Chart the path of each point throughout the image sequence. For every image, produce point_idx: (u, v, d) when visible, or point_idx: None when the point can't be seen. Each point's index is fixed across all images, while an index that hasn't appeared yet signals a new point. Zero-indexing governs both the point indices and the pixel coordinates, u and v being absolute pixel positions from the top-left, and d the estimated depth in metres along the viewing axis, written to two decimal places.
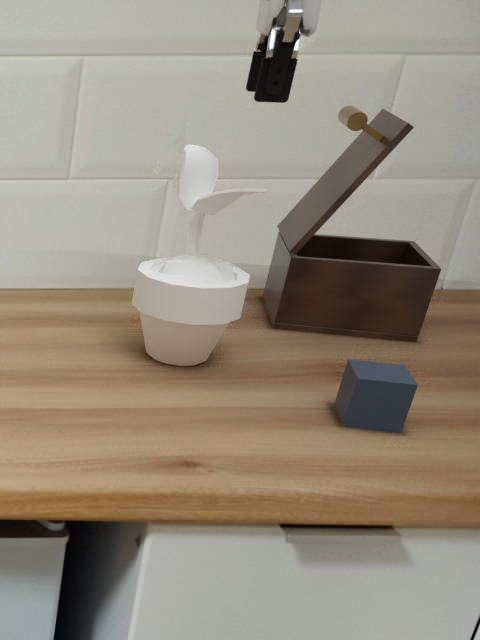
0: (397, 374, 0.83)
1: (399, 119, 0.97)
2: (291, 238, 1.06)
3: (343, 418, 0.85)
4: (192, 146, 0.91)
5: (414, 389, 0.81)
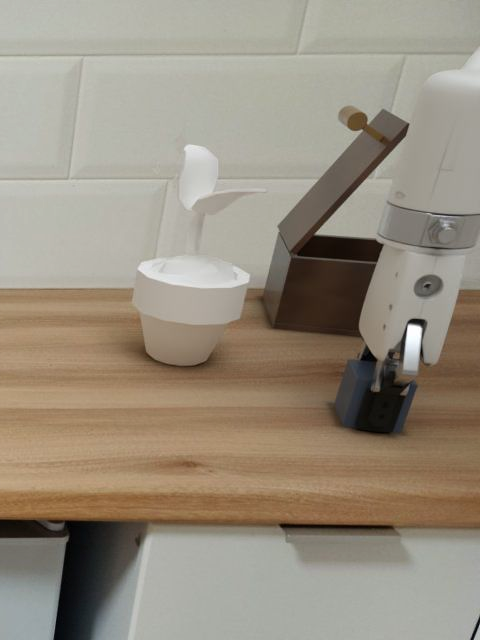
0: None
1: (399, 119, 0.97)
2: (291, 238, 1.06)
3: (343, 418, 0.85)
4: (192, 146, 0.91)
5: (414, 389, 0.81)
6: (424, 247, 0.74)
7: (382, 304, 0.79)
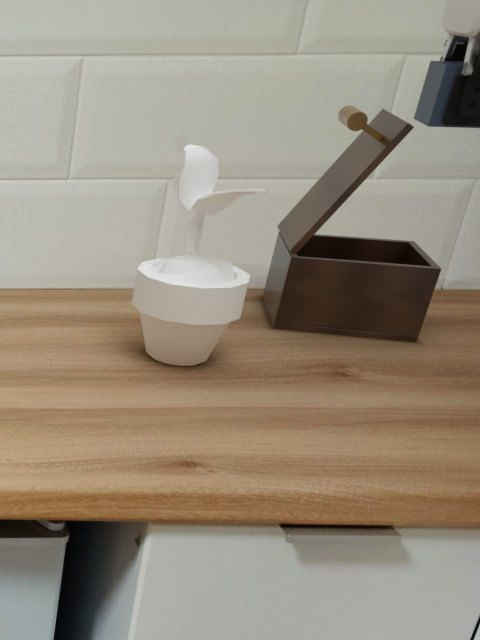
0: None
1: (399, 119, 0.97)
2: (291, 238, 1.06)
3: (428, 118, 0.80)
4: (192, 146, 0.91)
5: None
6: None
7: None
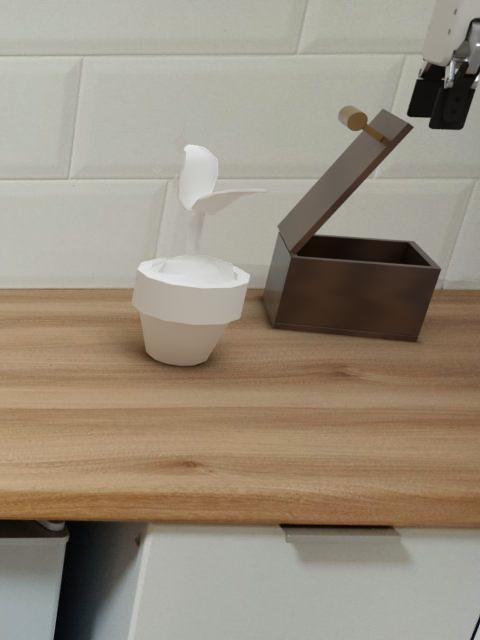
0: None
1: (399, 119, 0.97)
2: (291, 238, 1.06)
3: None
4: (192, 146, 0.91)
5: None
6: None
7: (447, 14, 0.92)
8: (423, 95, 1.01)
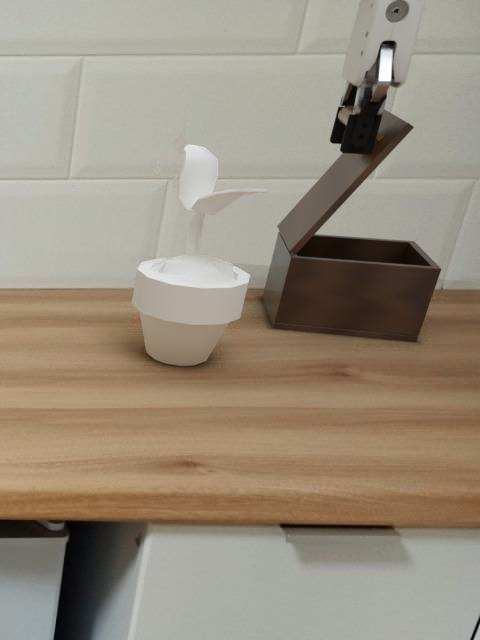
0: None
1: (399, 119, 0.97)
2: (291, 238, 1.06)
3: None
4: (192, 146, 0.91)
5: None
6: None
7: (360, 36, 0.95)
8: None
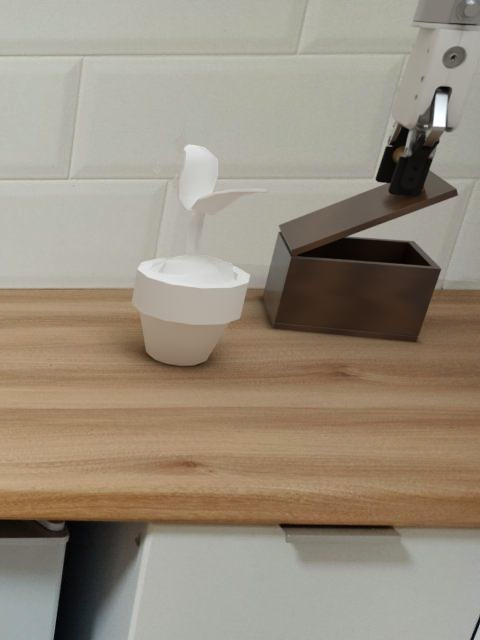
0: None
1: (446, 182, 0.99)
2: (295, 240, 1.06)
3: None
4: (192, 146, 0.91)
5: None
6: (452, 24, 0.91)
7: (414, 80, 0.95)
8: (391, 162, 1.04)
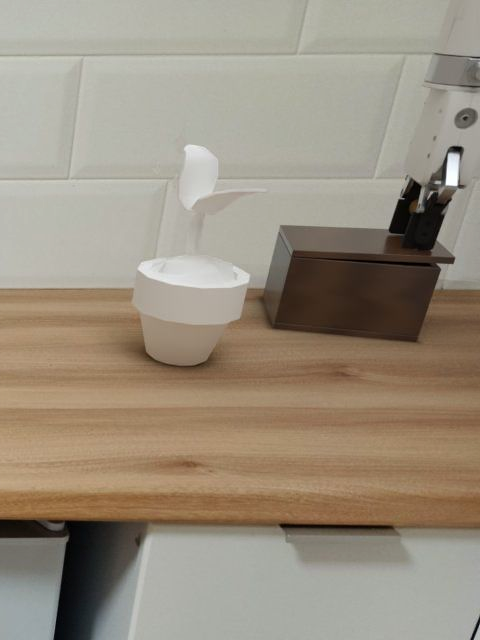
0: None
1: (445, 248, 1.02)
2: (297, 243, 1.06)
3: None
4: (192, 146, 0.91)
5: None
6: (463, 86, 0.93)
7: (427, 138, 0.98)
8: (404, 214, 1.06)
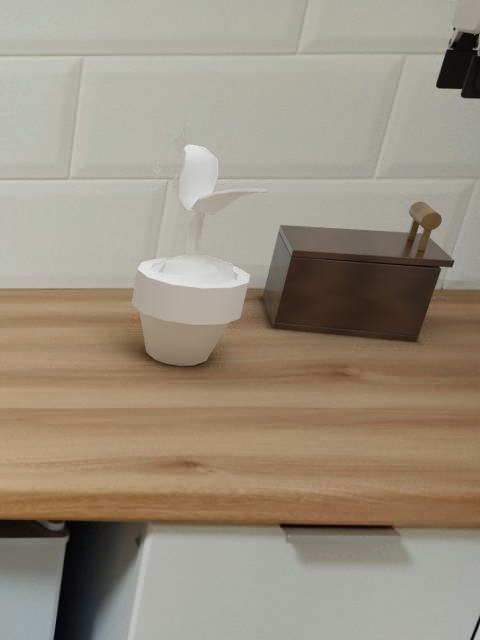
0: None
1: (444, 252, 1.02)
2: (297, 243, 1.06)
3: None
4: (192, 146, 0.91)
5: None
6: None
7: None
8: (453, 66, 0.99)
